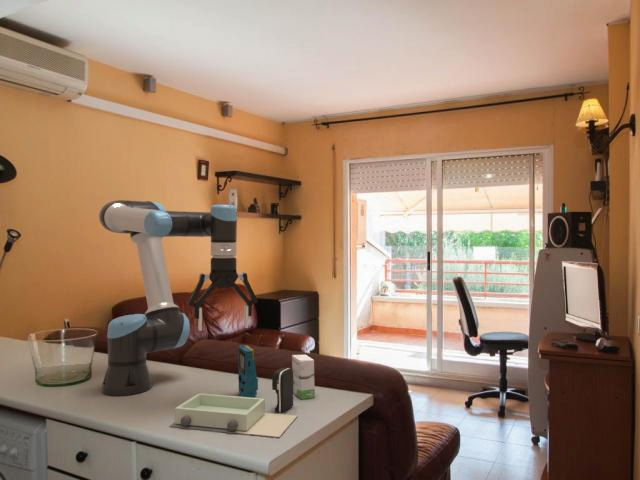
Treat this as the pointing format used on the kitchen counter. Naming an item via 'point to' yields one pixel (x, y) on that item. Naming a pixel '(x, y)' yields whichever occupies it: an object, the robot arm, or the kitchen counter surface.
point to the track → (255, 426)
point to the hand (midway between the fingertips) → (223, 328)
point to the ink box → (303, 376)
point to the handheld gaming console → (247, 372)
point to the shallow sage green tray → (220, 411)
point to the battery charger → (283, 388)
